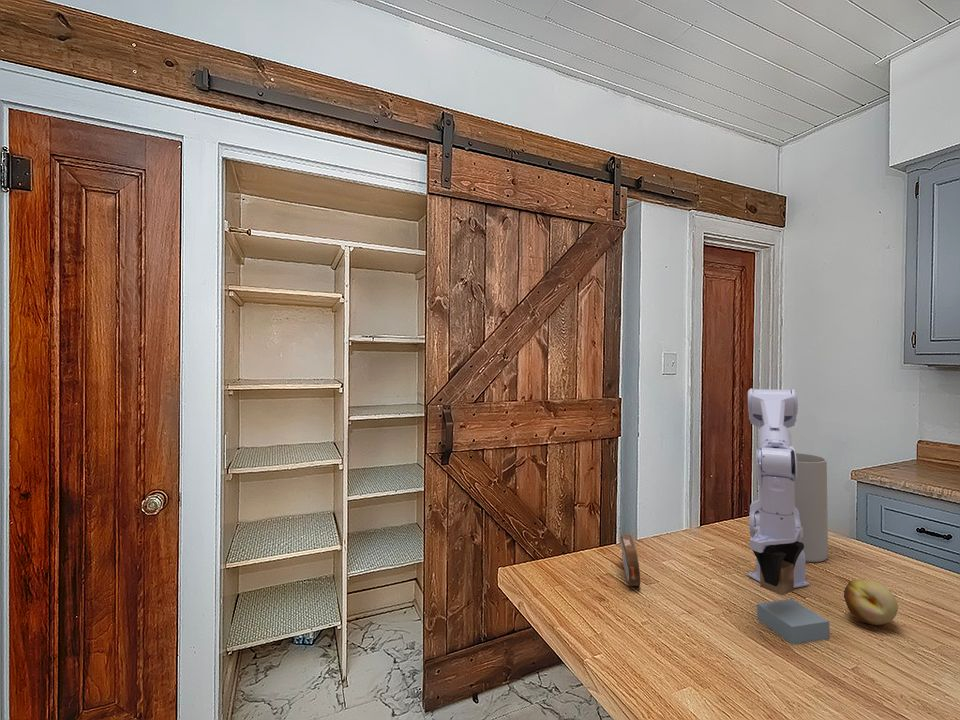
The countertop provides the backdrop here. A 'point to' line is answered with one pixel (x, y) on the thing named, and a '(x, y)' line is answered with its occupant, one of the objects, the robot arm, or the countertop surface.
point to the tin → (630, 561)
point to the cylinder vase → (812, 505)
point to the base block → (793, 621)
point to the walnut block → (781, 580)
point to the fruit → (870, 602)
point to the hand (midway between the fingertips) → (777, 580)
